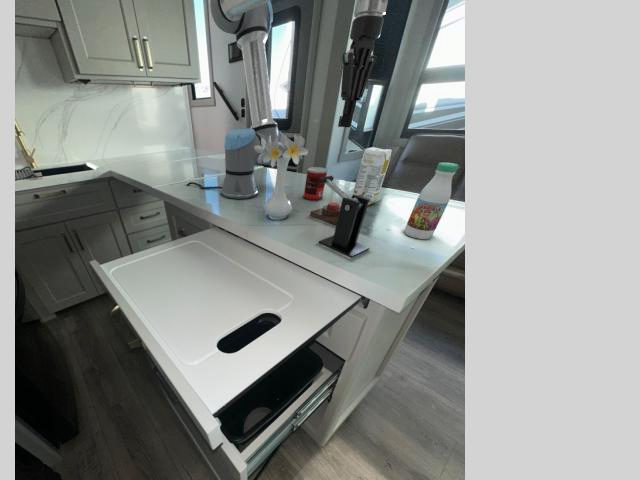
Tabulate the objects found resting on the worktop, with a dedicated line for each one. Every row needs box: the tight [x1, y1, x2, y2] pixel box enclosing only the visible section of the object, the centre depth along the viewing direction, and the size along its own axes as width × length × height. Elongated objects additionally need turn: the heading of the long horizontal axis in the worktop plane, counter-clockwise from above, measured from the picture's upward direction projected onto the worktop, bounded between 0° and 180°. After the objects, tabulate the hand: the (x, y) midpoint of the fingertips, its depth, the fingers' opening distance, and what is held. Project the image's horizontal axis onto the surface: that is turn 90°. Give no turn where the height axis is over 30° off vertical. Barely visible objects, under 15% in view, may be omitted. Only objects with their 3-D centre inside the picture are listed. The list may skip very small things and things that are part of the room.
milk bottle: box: [403, 162, 459, 240], centre depth 77 cm, size 8×8×20 cm
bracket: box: [318, 194, 370, 259], centre depth 71 cm, size 11×8×14 cm
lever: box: [317, 175, 363, 211], centre depth 69 cm, size 13×5×2 cm, turn 36°
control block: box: [309, 204, 341, 227], centre depth 91 cm, size 11×9×4 cm
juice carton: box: [352, 146, 393, 206], centre depth 101 cm, size 8×9×19 cm
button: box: [327, 201, 340, 210], centre depth 89 cm, size 4×4×2 cm
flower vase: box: [254, 133, 309, 221], centre depth 86 cm, size 13×18×25 cm
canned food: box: [303, 166, 328, 201], centre depth 108 cm, size 8×8×11 cm
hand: (345, 126), depth 82 cm, fingers closed
